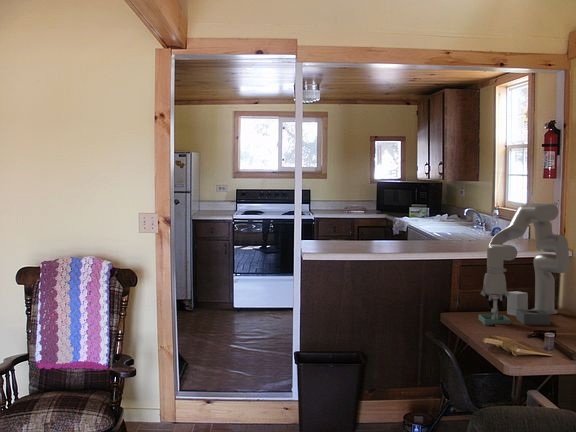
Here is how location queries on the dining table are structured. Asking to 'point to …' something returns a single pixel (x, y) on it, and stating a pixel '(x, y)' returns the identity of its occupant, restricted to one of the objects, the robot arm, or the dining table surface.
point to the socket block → (533, 317)
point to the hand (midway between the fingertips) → (494, 308)
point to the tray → (488, 321)
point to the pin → (494, 307)
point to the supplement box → (516, 302)
